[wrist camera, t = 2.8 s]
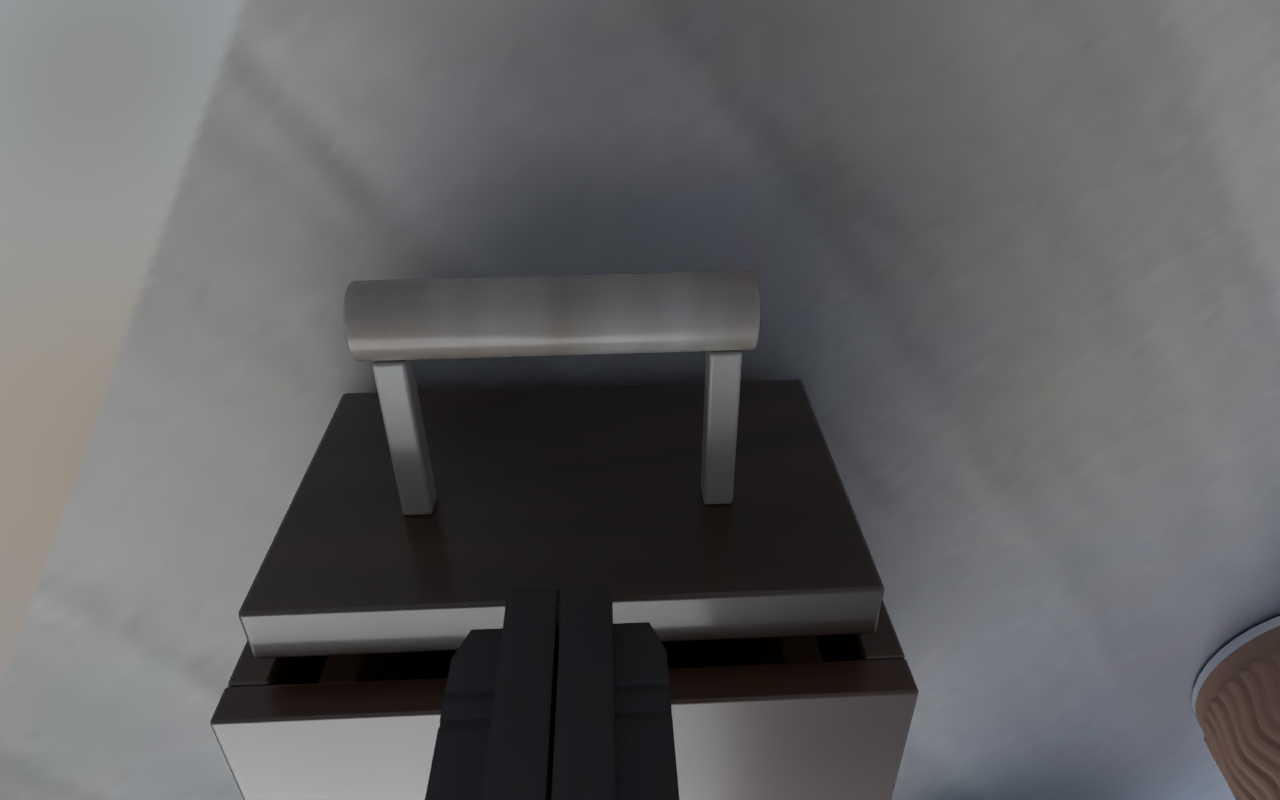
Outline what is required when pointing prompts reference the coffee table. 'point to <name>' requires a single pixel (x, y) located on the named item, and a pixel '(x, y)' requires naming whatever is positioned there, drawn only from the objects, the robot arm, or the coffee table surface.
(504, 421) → the drawer
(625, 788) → the robot arm
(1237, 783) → the coffee cup
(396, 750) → the cabinet
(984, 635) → the coffee table surface
